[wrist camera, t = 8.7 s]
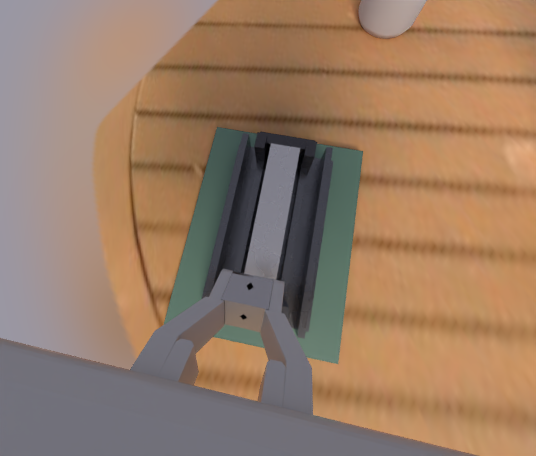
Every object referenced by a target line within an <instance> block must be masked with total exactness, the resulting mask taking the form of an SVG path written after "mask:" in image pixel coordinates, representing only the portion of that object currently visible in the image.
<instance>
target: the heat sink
mask: <svg viewBox="0 0 536 456" xmlns="http://www.w3.org/2000/svg"><path fill="white" fill-rule="evenodd" d="M271 143H272V144H278V145H284V146H290V147H296V148H300V153H299V158H298V163H297V169H296V174H295V180H294V185H293V191H292V196H291V202H290V207H289V213H288V218H287V224H286V229H285V235H284V240H283V246H282V251H281V256H280V262H279V267H278V273H277V278H276V280H279V281H284V283H285V284H284V294H283V303H282V312H281V313H283V314H285V316H286V318H287V320H288V322H289V324H290V326H291V328H293V329H294V330H295V332H296V335H297V337H299V338H303V339H305V333H306V331H307V332H309V326H310V319H311V312H312V305H313V298H314V292H315V285H316V278H317V271H318V264H319V257H320V250H321V244H322V237H323V230H324V223H325V216H326V209H327V202H328V195H329V189H330V182H331V175H332V168H333V161H332V160H331V158H332V151H333V148H331V147H326V149H325V151H324V154H323V156H322V158H321V159H320V158H314V157H315V152H316V146H317V142H315V141H314V140H308V139H302V138H296V137H290V136H284V135H277V134H271V133H265V132H260V133H259V132H257V137H256V141H255V145H254V147H251V144H250V138H249V134H246V133H243V135H242V139H241V143H240V145H239V147H238V151H237V155H236V159H235V163H234V168H233V172H232V176H231V180H230V184H229V188H228V192H227V196H226V200H225V205H224V209H223V213H222V217H221V221H220V225H219V229H218V233H217V237H216V241H215V246H214V250H213V254H212V258H211V262H210V266H209V270H208V274H207V278H206V282H205V287H204V291H203V295H202V299H203V298H204V297H209V295H210V293H211V291H212V289H213V287H214V285H215V283H216V281H217V279H218V277H219V275H220V272H221V271H222V270H223V269H227V270H231V271H236V272H240V273H244V272H245V267H246V262H247V257H248V252H249V248H250V243H251V238H252V233H253V228H254V223H255V218H256V214H257V209H258V204H259V199H260V194H261V189H262V184H263V180H264V175H265V170H266V165H267V160H268V155H269V151H270V146H271Z"/></svg>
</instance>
